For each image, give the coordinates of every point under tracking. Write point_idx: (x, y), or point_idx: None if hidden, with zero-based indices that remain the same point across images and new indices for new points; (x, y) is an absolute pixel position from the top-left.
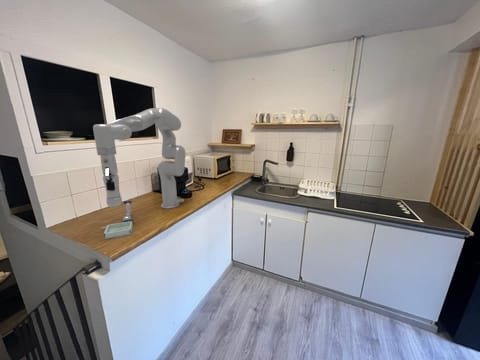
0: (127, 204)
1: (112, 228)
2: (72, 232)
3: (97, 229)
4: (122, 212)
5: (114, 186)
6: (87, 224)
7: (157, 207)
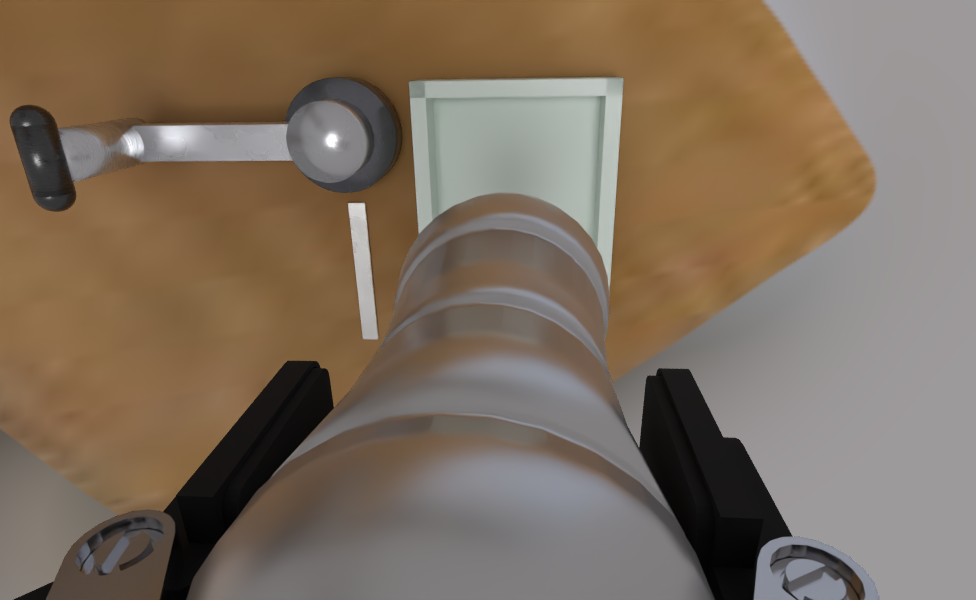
0: (86, 156)
1: None
2: None
3: None
4: (51, 212)
5: (709, 414)
6: None
7: None
